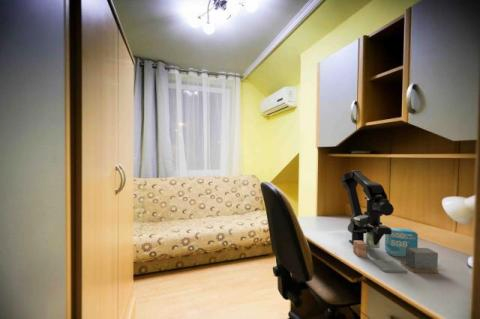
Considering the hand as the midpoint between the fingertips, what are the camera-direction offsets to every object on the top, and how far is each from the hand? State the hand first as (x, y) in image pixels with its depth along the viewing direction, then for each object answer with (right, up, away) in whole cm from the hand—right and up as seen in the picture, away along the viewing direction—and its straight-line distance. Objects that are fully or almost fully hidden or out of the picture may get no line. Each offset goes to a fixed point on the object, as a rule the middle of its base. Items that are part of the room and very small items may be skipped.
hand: (372, 243), depth 107 cm
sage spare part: (0, -2, 0) cm, 2 cm away
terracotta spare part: (-6, -6, 0) cm, 8 cm away
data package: (+14, -6, +1) cm, 15 cm away
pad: (0, -6, -12) cm, 13 cm away
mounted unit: (+12, -6, -13) cm, 18 cm away
